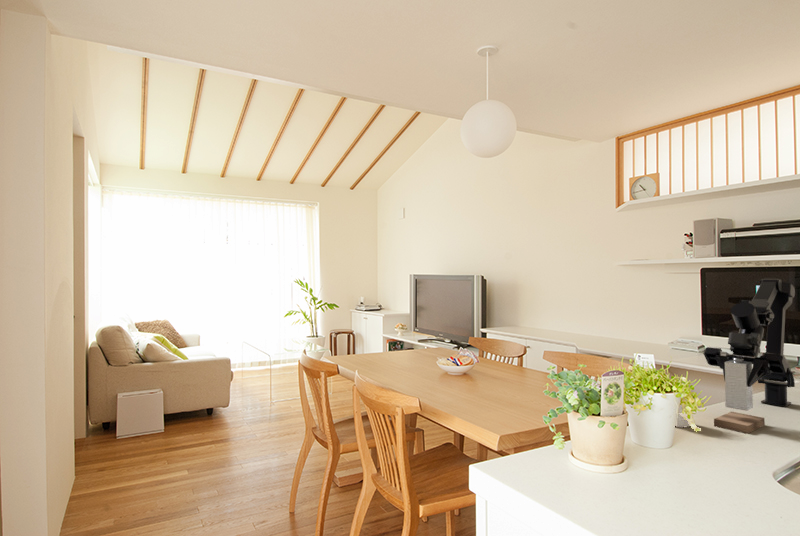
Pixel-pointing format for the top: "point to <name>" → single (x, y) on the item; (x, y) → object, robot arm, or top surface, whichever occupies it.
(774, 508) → the top surface
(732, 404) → the housing
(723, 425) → the plinth
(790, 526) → the top surface
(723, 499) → the top surface
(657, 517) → the top surface
